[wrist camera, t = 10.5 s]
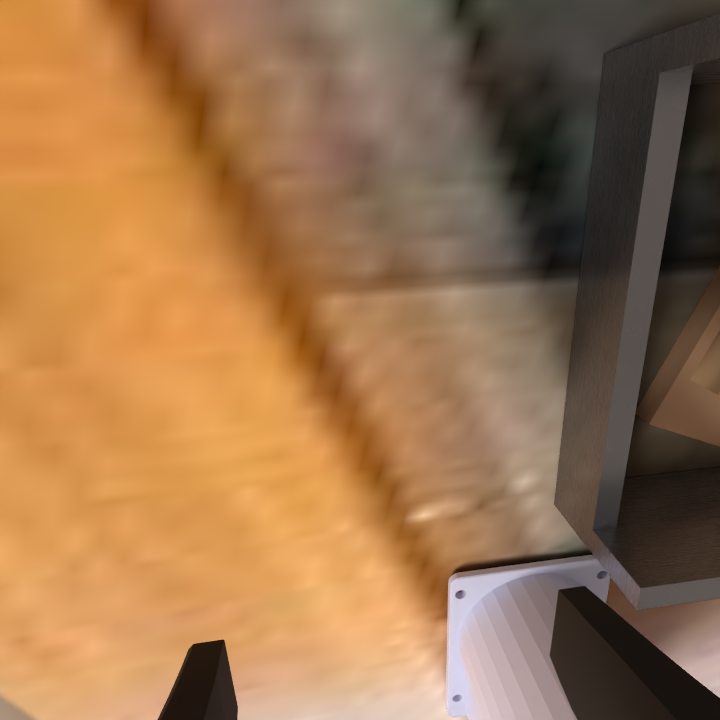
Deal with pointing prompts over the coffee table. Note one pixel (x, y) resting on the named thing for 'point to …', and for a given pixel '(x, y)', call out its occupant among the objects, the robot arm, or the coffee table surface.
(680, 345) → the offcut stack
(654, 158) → the rack
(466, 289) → the coffee table surface
